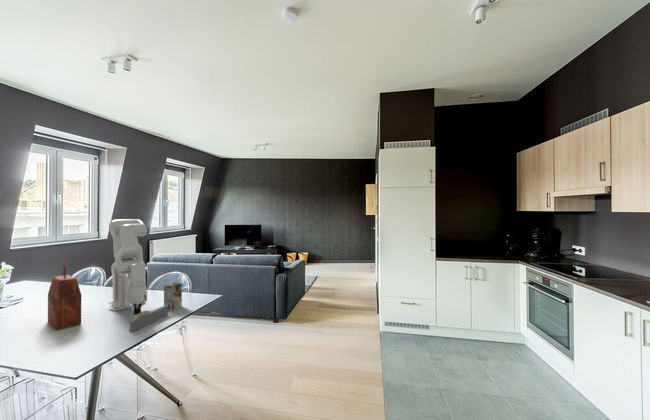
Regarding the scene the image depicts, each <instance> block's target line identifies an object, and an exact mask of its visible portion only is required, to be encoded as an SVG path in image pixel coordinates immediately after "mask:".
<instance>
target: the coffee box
mask: <svg viewBox="0 0 650 420" xmlns="http://www.w3.org/2000/svg"><path fill="white" fill-rule="evenodd" d="M182 286H183V284H182V283H181V282H180V283H179V282H174V283H170V284H166V285H164V286H163V306H164V305H168V312H173V311H174V310H177V309H179V308H181V307H182V306H183V301H182V300H183V299H182V298H183V297H182V296H183V294H182V293H183V292H182V289H183V287H182Z"/></svg>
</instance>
